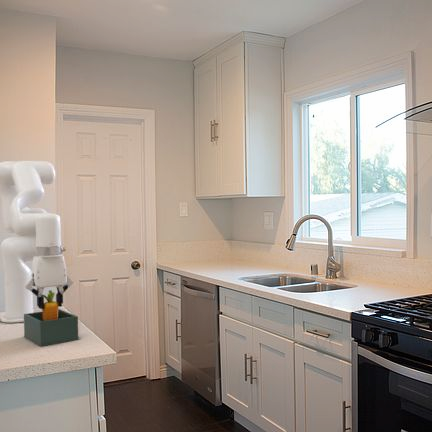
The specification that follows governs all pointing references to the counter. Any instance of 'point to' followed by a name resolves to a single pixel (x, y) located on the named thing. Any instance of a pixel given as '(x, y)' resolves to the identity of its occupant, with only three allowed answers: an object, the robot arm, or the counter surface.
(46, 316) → the carrot
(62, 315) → the bin
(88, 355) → the counter surface
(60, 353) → the counter surface
